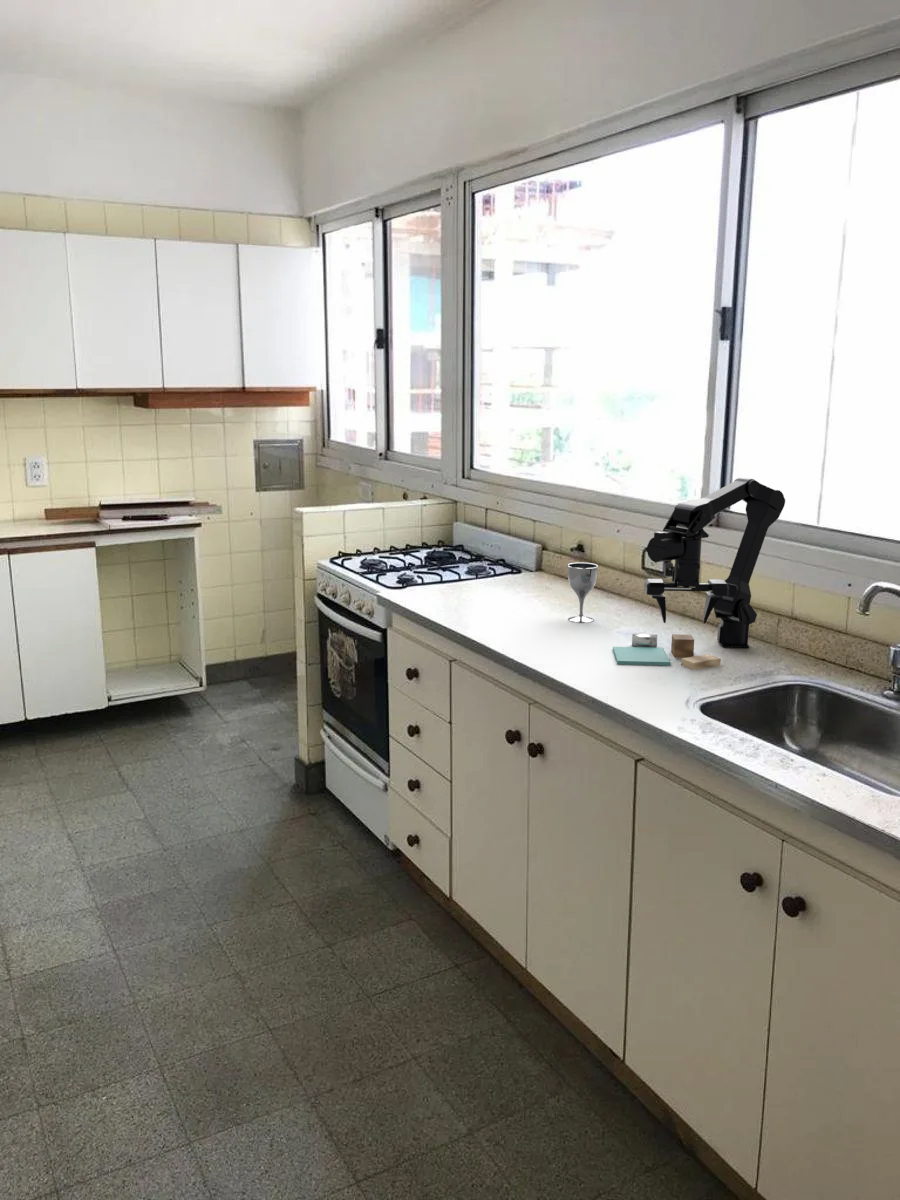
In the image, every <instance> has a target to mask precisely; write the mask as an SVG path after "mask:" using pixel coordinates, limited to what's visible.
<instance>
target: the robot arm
mask: <svg viewBox="0 0 900 1200" xmlns="http://www.w3.org/2000/svg"><path fill="white" fill-rule="evenodd" d="M741 501H742V502H745V503H746V504H745V514H746V518H747V519H746V520H747V522H746V523H747V524H746V526H745V529H744V532H743V535H742V537H741V541H740V542H739V543H740V544H739V546H738V549H737V552H736V555H735V558H734V560H733V564H732V567H731V569H730V572H729V575H728V577H727V578H726V579H711V578H709V579H708V581H707V582H706V583H705V582H703V583H702V582H700V573H701V571H700V570H701V554H702V539H706V538H709V536H710V534H708V533H707V532H706V530H704V528H706V527H707V526H708V525H709V524H710V523H712V521H713V518H714V517H715V515H717V514H718V513H721V512H723V511H724V510H726V509H728V508H730V507H732V506H734V505H736V504H737V503H739V502H741ZM785 505H786V498H785V495H784V494H783V492H782V491H781V490H780V489H779V490H778V489H773V488H771V487H769V486H767V485H764V484H763V483H760V482H759V481H757V480H756V479H754V478H747V477H738V478H736V479H734V480H733V481H732V482H730V483H729V484H727V485H725V486H723V487H721V488H719V489H718V490H716V491H713V492H711V493H709V494H708V495H705V496H704V497H702V498H701V497H700V498H697V499H690V500H686V501H682V502H679V503H677V504H676V505H675V506H674V510H673V512H672V513H671V515H670V516H669V518H668V520H667V522H666V523H665V525H664V527H663V528H662V531H654V533H653V537H652V538H650V540H649V542H648V544H647V545H646V552H647V553H646V554H647V556H648V558H649V559H650V560H651V561H652V562H654V563H661V562H664V565H663V577H664V578H671V582H664V580H663V579H662V578H646V579H645V580H644V585H643V586H644V587H643V589H644V592H645V593H646V595H647V596H648V595H649V596H650V597H651V598H652V599H656V602H657V604H658V608H659V611H660V616H661V618H662V621H663V624H666V622H667V611H666V610H667V607H666V606H667V605H666V595H665V594H664V593H665V592H705V602H704V609H703V614H702V615H703V616H702V623H703V624H704V625H706V623H707V621H708V619H709V617H710V615H711V613H712V611H713V610H714V615H715V618H716V619H720V624H717V625H718V626H717V642H718V643H719V645H720V646H721V647H723V648H740V649H741V648H742V649H743V648H746V649H748V648H750V644H749V632H750V625H752V624H753V623H754V624H755V622H756V620H757V616H758V614H757V612H756V611H755V609H754V608H753V607H752V606H751V604H750V602H751V600H752V591H751V587H750V582H751V578H752V577H753V576H752V575H753V574H754V573H753V572H754V570H755V567H756V564H757V561H758V558H759V555H760V553H761V549H762V547H763V543H764V540H765V539H766V536H767V532H768V529H769V527H771V526H772V524H774V522H776V521H777V520H778V519H779V518H780V516H781V514H782V511H783V509H784V507H785ZM669 561H674V563H670V562H669ZM666 562H667V563H666Z"/></svg>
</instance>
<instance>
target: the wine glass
mask: <svg viewBox="0 0 900 1200" xmlns="http://www.w3.org/2000/svg"><path fill="white" fill-rule="evenodd" d="M598 568H599V567H598V564H596V563H591V562H570V563H568V564H567V580H568V584H569V587H570V589H571V590H572V591H574V593H575V595H576V596H577V598H578V602H579V615H576V616H571V617H568V618H567V621H569V622H571V623H577V624H589V623H592V622H594V621H595V619H594V618H593V617H590V616H585V615H584V614H583V613H584V612H583V609H584V603H585V600H586V597H587V595H588V594H589V593H590V592H591V591H592V590H593V588H595V585H596V583H597V578H598Z"/></svg>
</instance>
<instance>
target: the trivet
mask: <svg viewBox="0 0 900 1200" xmlns="http://www.w3.org/2000/svg"><path fill="white" fill-rule="evenodd" d="M612 652H613V655H614V657H615V661H616V663H617V665H632V666H634V665H639V666H640V665H641V666H671V665H672V662H671V660H670V657H669V656H668V654H667V652H666V650H665V648H664V647H657V648H655V647H632V646H612Z"/></svg>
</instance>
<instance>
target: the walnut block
mask: <svg viewBox="0 0 900 1200" xmlns="http://www.w3.org/2000/svg"><path fill="white" fill-rule="evenodd" d="M670 643H671V644H670V645H671V647H670V653H671V654H672V657H673V658H674V659H675V658H677V659H678V658H680V659H682V658H687V657H693V656H694V653H695V652H694V649H695V639H694V637H693V635H692V634H681V633H680V634H675V633H673V634H671V642H670Z"/></svg>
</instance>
